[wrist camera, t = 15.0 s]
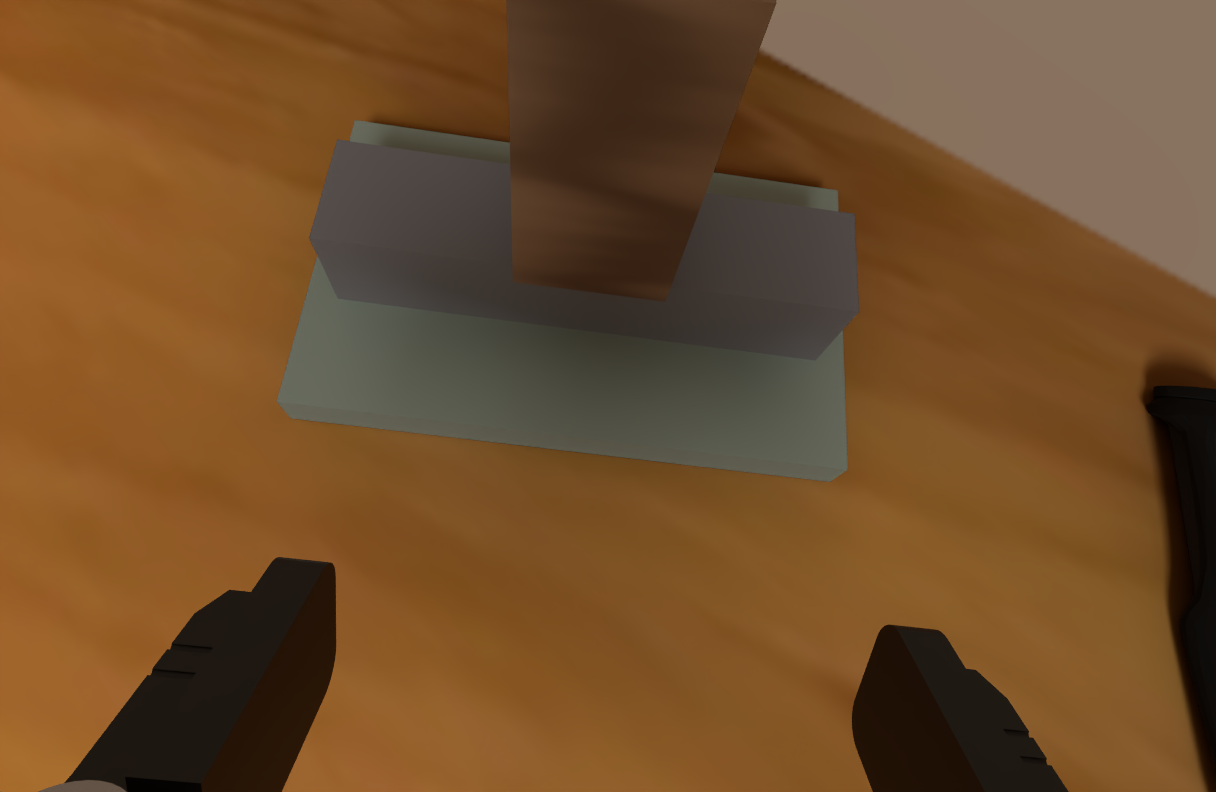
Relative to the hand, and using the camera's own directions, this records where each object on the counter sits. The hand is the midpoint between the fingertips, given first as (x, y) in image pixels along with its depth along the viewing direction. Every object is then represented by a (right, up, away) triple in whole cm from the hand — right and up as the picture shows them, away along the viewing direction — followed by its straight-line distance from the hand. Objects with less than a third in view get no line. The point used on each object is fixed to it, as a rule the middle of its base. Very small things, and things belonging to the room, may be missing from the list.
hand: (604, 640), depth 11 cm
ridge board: (-1, +7, +16) cm, 17 cm away
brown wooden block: (0, +9, +11) cm, 14 cm away
